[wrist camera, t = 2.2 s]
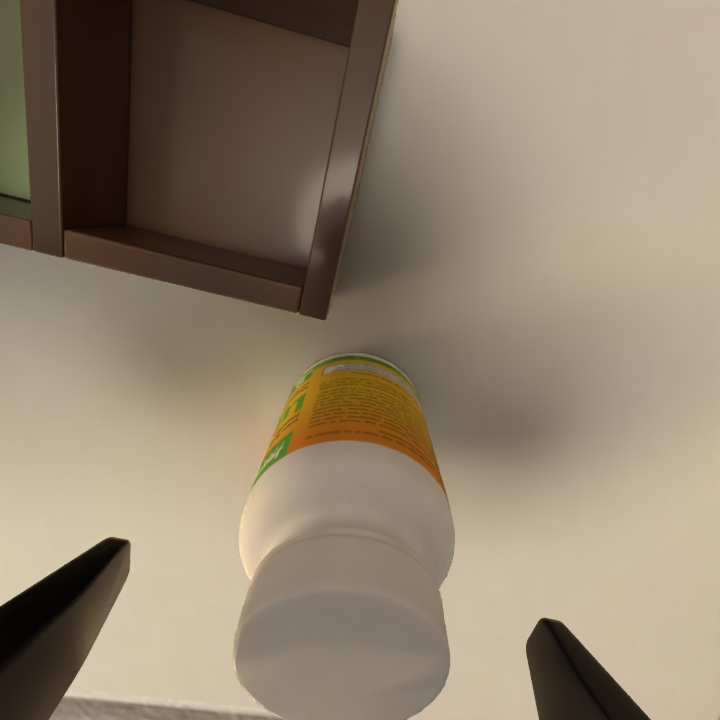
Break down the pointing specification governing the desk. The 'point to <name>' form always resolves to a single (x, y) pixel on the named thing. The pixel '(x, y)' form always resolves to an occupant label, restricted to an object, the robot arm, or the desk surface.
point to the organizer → (191, 137)
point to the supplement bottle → (346, 552)
